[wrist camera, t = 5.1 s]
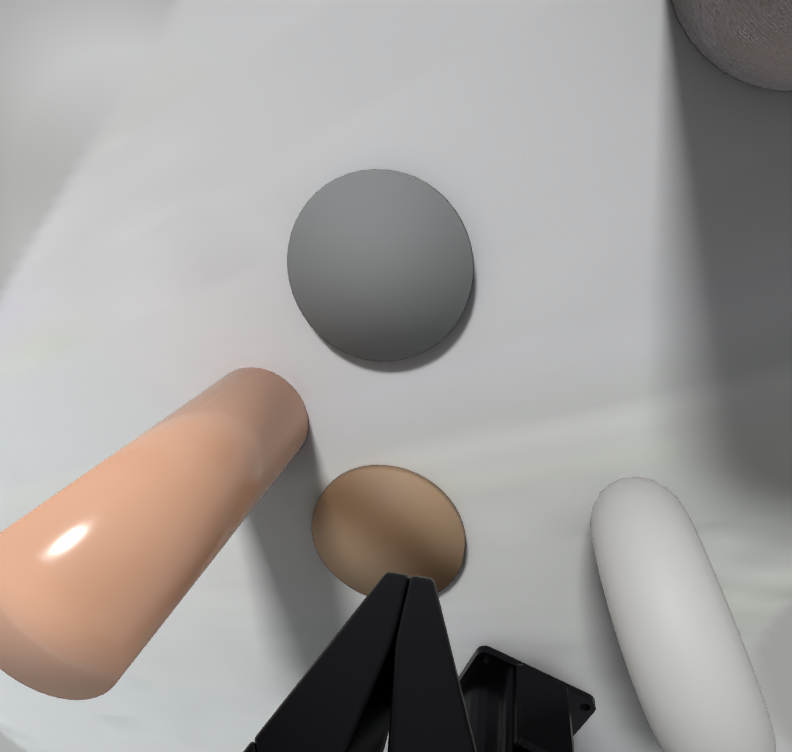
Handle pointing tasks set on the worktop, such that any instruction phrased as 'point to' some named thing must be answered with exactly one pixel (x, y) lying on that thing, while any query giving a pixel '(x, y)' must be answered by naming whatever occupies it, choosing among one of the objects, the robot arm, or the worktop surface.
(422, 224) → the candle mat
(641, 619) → the donut
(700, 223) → the worktop surface
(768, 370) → the worktop surface
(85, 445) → the worktop surface
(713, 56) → the pillar candle
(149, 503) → the post
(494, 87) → the worktop surface
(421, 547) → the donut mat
